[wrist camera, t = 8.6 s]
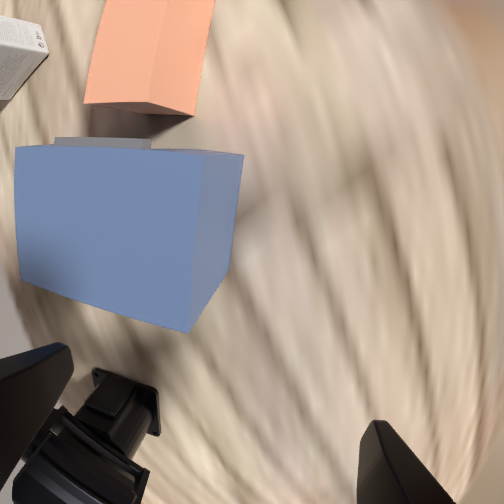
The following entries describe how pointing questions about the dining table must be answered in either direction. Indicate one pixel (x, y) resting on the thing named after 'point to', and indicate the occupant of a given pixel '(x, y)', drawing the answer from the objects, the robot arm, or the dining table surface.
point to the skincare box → (19, 53)
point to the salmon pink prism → (149, 56)
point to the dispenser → (126, 224)
